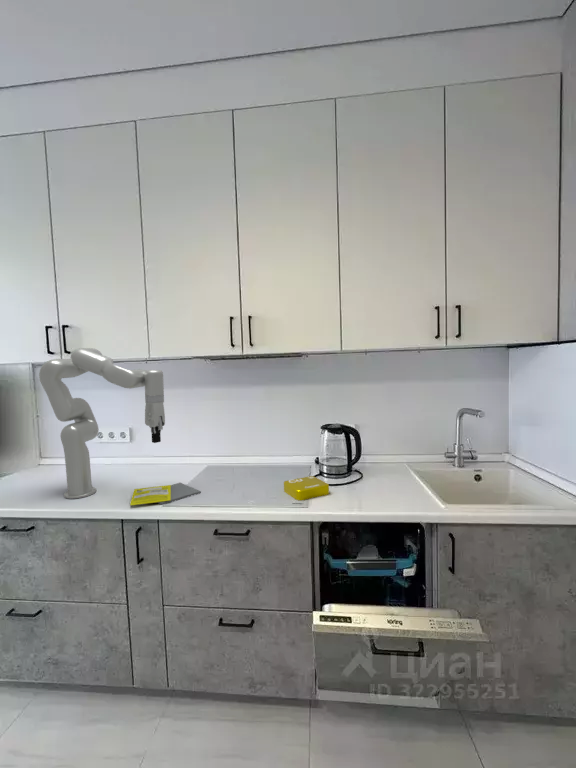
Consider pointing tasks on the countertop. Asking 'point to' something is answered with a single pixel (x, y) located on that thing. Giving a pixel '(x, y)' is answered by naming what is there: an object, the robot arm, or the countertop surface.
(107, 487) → the countertop surface
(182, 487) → the mat
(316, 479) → the element tile
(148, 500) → the food package
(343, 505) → the countertop surface
